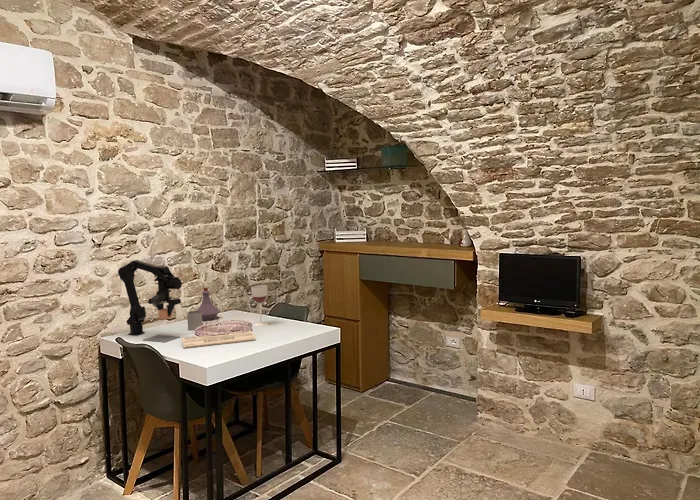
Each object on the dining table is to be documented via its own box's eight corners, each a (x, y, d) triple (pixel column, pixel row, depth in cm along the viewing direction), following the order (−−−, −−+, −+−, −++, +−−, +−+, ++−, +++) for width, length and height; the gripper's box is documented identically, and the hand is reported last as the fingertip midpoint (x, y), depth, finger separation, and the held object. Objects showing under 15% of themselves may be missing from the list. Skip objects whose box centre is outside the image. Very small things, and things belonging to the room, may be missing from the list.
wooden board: (250, 334, 310) (250, 329, 310) (256, 342, 292) (255, 337, 292) (182, 341, 299) (181, 336, 298) (183, 350, 280) (183, 345, 280)
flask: (225, 316, 358) (224, 286, 356) (210, 322, 343) (208, 290, 341) (204, 315, 364) (202, 285, 362) (188, 321, 349) (186, 289, 347)
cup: (198, 330, 321) (197, 313, 320) (185, 330, 323) (184, 313, 322) (205, 327, 329) (204, 310, 329) (192, 327, 331) (191, 310, 330)
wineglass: (272, 323, 334) (270, 285, 332) (261, 326, 326) (259, 288, 324) (260, 321, 339) (259, 284, 337) (249, 325, 331) (247, 287, 329)
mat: (142, 340, 302) (142, 339, 302) (157, 335, 313) (157, 334, 313) (164, 342, 296) (164, 341, 296) (180, 337, 307) (180, 336, 307)
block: (159, 318, 309) (158, 310, 309) (165, 317, 314) (164, 308, 313) (166, 319, 307) (165, 310, 307) (172, 317, 312) (171, 308, 311)
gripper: (140, 290, 305) (142, 318, 307) (167, 291, 298) (168, 320, 299) (154, 287, 315) (156, 314, 317) (180, 288, 308) (182, 316, 310)
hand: (165, 316), depth 310 cm, fingers closed on block, 5 cm apart
